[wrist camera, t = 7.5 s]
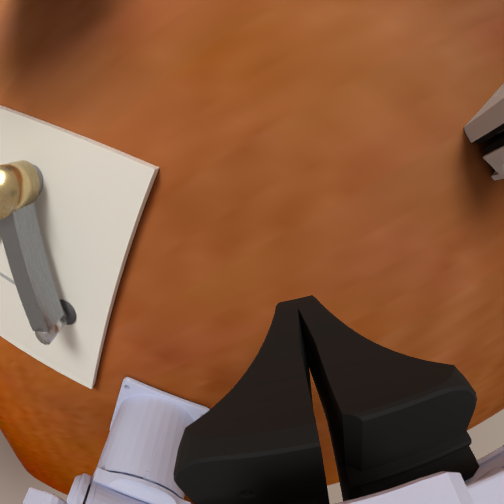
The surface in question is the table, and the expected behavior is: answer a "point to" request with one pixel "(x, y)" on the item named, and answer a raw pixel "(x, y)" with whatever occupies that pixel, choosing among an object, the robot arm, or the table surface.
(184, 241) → the table surface
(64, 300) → the plate
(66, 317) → the divider leg
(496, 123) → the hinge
